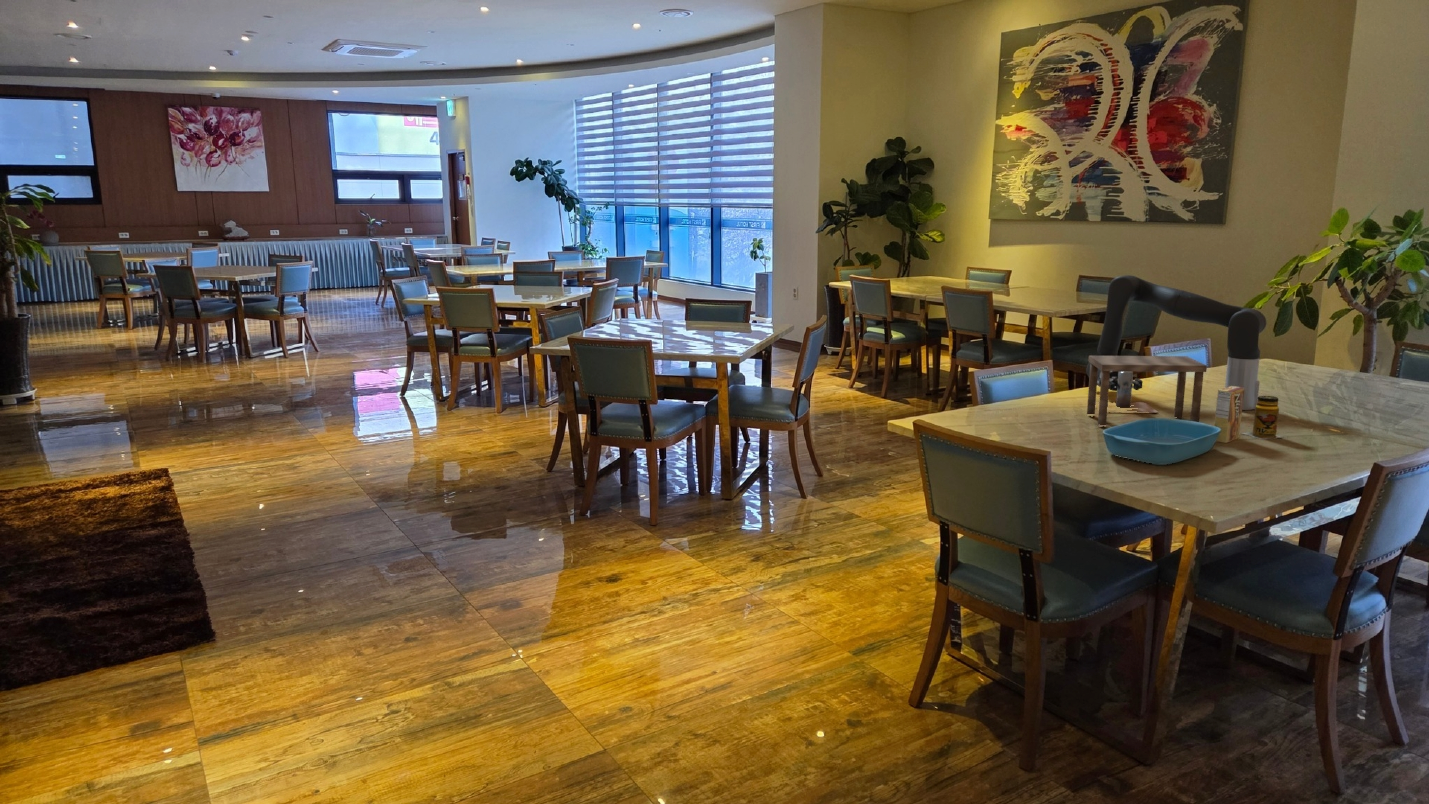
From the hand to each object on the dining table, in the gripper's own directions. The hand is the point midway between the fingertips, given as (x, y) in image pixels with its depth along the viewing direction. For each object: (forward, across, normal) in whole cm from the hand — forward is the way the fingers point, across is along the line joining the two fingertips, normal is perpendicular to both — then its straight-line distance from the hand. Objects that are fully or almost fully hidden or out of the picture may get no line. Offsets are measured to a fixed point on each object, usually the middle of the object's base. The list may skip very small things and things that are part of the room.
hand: (1125, 387), depth 310 cm
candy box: (+41, +18, +8) cm, 45 cm away
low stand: (+20, 0, +8) cm, 21 cm away
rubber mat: (-1, 0, +8) cm, 8 cm away
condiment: (+35, +30, +8) cm, 47 cm away
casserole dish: (+58, -5, +8) cm, 59 cm away
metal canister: (-1, 0, +7) cm, 7 cm away
